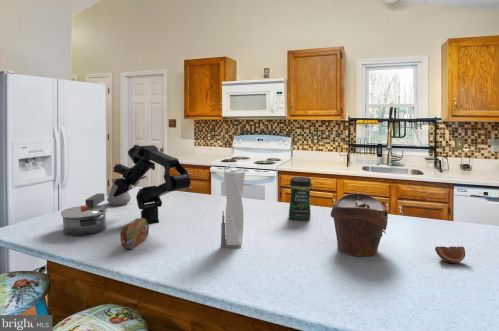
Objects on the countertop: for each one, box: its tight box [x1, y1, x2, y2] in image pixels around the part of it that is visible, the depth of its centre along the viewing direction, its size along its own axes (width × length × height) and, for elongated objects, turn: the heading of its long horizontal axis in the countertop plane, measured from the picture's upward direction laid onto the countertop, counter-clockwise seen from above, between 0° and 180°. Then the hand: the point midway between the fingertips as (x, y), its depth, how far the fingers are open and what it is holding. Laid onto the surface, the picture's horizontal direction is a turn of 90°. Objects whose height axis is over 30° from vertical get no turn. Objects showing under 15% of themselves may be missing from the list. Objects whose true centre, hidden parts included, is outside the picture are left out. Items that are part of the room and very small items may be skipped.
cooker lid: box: [60, 192, 107, 219], centre depth 139 cm, size 25×16×4 cm, turn 2°
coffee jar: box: [288, 176, 312, 221], centre depth 152 cm, size 10×8×19 cm
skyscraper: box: [220, 163, 246, 249], centre depth 120 cm, size 8×8×28 cm
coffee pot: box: [106, 175, 149, 207], centre depth 176 cm, size 21×12×15 cm, turn 83°
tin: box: [119, 217, 150, 250], centre depth 120 cm, size 15×3×8 cm, turn 168°
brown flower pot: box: [330, 192, 389, 257], centre depth 115 cm, size 18×20×18 cm
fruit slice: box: [434, 246, 466, 264], centre depth 107 cm, size 8×7×5 cm
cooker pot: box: [62, 212, 107, 238], centre depth 137 cm, size 26×15×7 cm, turn 32°
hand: (114, 196), depth 148 cm, fingers closed
